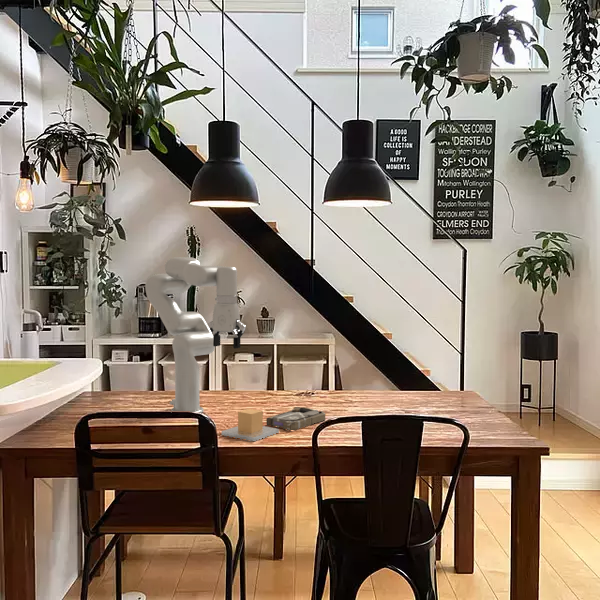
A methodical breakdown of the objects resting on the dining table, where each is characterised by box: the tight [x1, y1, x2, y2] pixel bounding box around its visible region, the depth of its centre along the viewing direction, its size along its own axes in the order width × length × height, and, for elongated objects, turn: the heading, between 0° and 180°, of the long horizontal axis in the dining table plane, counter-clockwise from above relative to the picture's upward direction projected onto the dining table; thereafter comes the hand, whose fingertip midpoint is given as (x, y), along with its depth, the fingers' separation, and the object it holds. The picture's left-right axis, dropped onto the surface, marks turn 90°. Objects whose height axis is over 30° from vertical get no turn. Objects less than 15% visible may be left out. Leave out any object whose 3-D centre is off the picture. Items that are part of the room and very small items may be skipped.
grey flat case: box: [265, 406, 326, 431], centre depth 248 cm, size 4×24×15 cm
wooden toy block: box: [237, 408, 264, 433], centre depth 229 cm, size 6×6×6 cm
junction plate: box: [221, 425, 280, 442], centre depth 229 cm, size 14×14×6 cm
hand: (226, 347), depth 243 cm, fingers open, 9 cm apart
